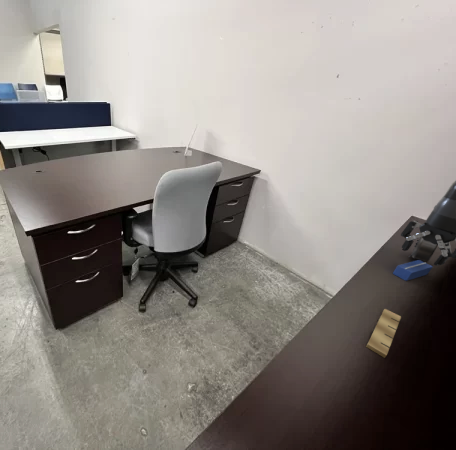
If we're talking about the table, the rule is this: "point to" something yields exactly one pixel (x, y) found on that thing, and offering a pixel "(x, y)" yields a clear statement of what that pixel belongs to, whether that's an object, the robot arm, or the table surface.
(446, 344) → the table surface
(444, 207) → the robot arm
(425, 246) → the alarm clock
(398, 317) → the ruler
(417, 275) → the pencil case
